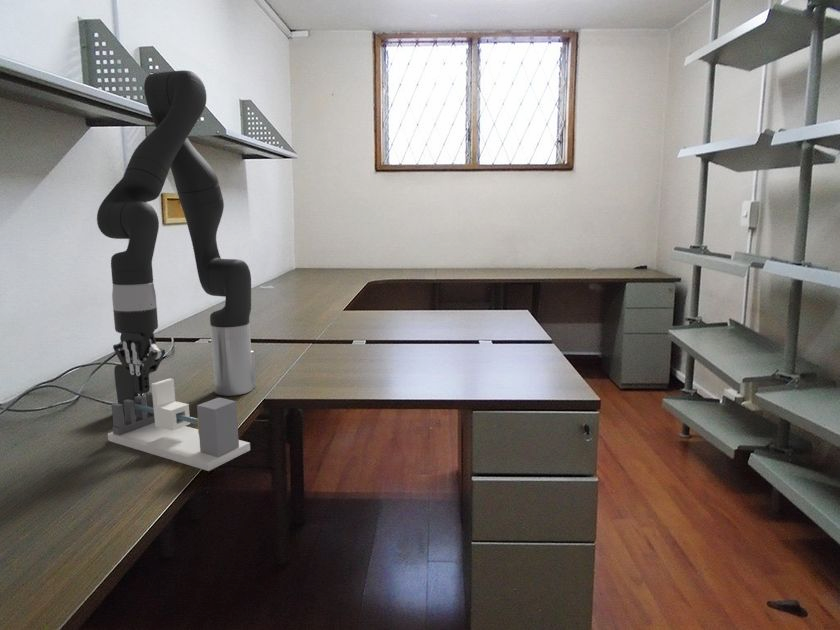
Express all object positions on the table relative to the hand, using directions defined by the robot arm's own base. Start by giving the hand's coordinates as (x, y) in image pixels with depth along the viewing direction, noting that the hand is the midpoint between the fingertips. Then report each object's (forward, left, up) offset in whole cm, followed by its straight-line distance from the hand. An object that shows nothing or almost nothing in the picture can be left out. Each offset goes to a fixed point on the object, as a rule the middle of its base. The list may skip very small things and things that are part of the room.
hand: (142, 392), depth 112 cm
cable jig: (0, +9, -9) cm, 13 cm away
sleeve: (0, +8, -5) cm, 10 cm away
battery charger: (-8, -15, -10) cm, 20 cm away
